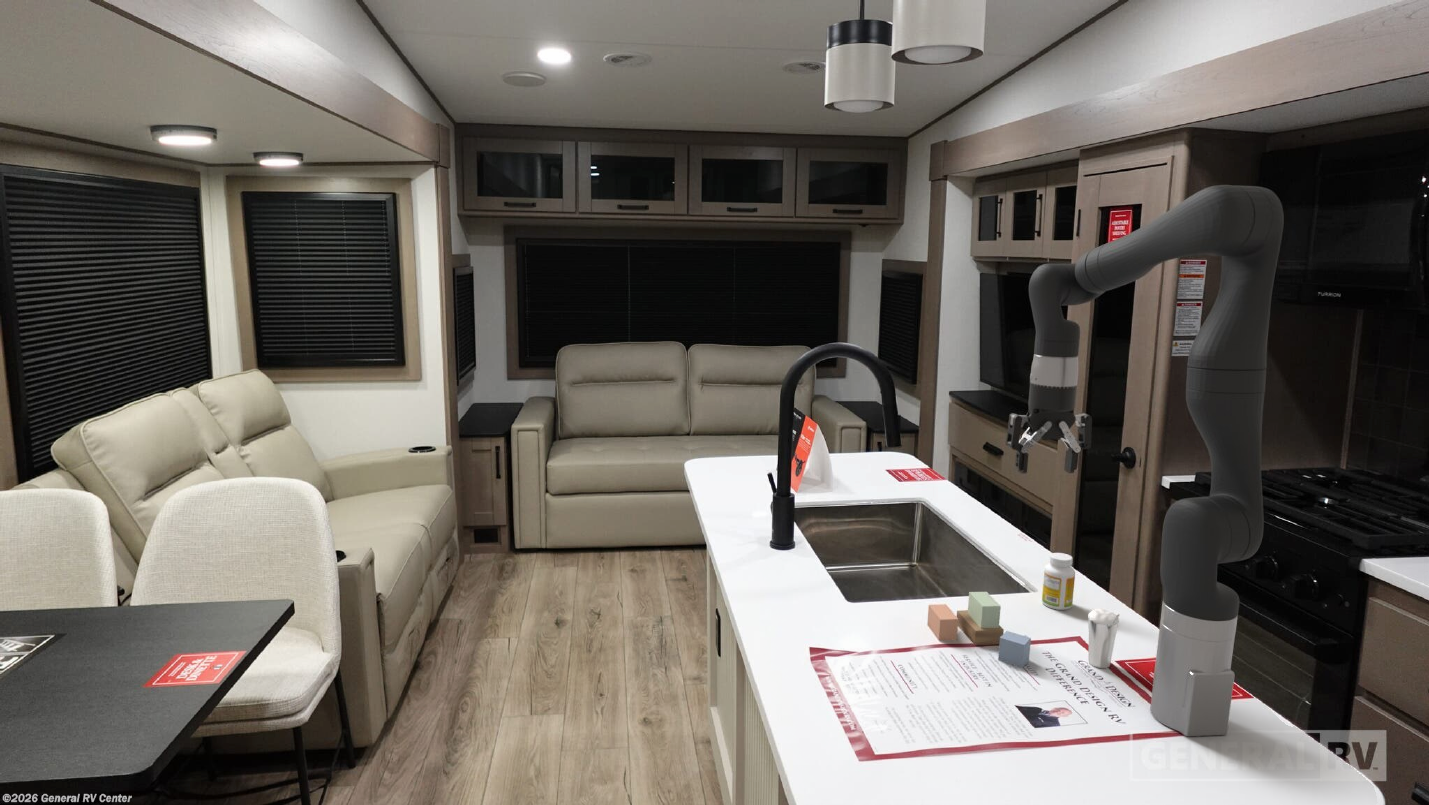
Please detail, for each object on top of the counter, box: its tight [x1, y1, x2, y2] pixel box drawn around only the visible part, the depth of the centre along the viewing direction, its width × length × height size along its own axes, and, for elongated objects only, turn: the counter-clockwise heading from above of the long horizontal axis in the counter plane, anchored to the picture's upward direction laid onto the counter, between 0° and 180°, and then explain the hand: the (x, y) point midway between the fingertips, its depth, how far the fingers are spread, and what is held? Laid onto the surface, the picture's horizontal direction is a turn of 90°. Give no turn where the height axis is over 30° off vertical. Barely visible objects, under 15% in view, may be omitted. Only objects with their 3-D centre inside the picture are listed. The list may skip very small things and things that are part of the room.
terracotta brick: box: [926, 603, 959, 642], centre depth 148 cm, size 6×3×4 cm, turn 5°
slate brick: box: [997, 630, 1032, 668], centre depth 138 cm, size 4×3×4 cm
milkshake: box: [1087, 608, 1120, 669], centre depth 136 cm, size 4×5×10 cm
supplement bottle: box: [1041, 552, 1076, 611], centre depth 159 cm, size 5×5×10 cm
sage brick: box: [967, 591, 1002, 628], centre depth 147 cm, size 6×3×4 cm, turn 5°
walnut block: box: [956, 609, 1005, 646], centre depth 148 cm, size 8×5×3 cm, turn 7°
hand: (1045, 472), depth 147 cm, fingers open, 8 cm apart
